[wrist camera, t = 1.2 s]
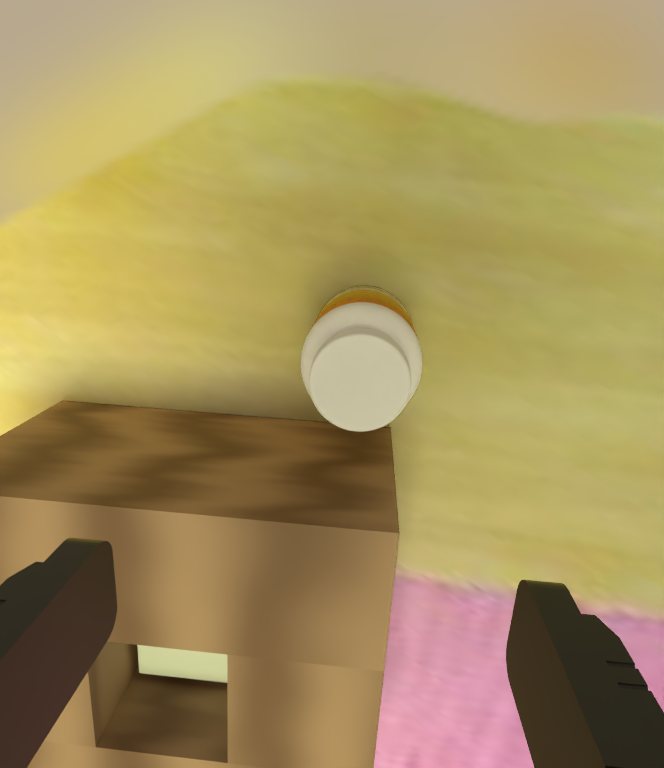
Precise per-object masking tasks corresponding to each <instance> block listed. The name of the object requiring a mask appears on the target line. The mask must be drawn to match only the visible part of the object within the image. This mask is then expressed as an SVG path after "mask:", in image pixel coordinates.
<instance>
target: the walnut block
mask: <svg viewBox="0 0 664 768" xmlns="http://www.w3.org/2000/svg"><path fill="white" fill-rule="evenodd" d="M68 538H80V539H91V540H102V541H108V542H109V543H110V544H111V546H112V550H113V560H114V572H115V583H116V595H117V615H116V620H115V624H114V627H113V630H112V633H111V635H110V637H109V639H108V641H107V642H106V644H105V645H104V647H103V649H102V650H101V652H100V653H99V655H98V656H97V658H96V660H95V661H94V663H93V664H92V666H91V668H90V669H89V671H88V672H87V674H86V675H85V677H84V679H83V680H82V682H81V683H80V685H79V686H78V688H77V690H76V691H75V693H74V694H73V696H72V697H71V699H70V701H69V702H68V704H67V705H66V707H65V709H64V710H63V712H62V713H61V715H60V716H59V718H58V720H57V721H56V723H55V724H54V726H53V727H52V729H51V731H50V732H49V734H48V735H47V737H46V738H45V740H44V742H43V743H42V745H41V746H40V748H39V750H38V751H37V753H36V754H35V756H34V757H33V759H32V761H31V762H30V764H29V765H28V767H27V768H373V767H374V758H375V749H376V740H377V730H378V721H379V712H380V703H381V694H382V685H383V676H384V667H385V658H386V649H387V640H388V631H389V622H390V613H391V604H392V595H393V586H394V577H395V568H396V559H397V549H398V540H399V524H398V512H397V500H396V488H395V475H394V463H393V451H392V439H391V428H388V427H381V428H378V429H375V430H371V431H363V432H358V431H349V430H346V429H342V428H340V427H338V426H336V425H334V424H332V423H327V422H315V421H302V420H290V419H278V418H266V417H254V416H241V415H229V414H217V413H205V412H193V411H180V410H168V409H156V408H144V407H132V406H119V405H107V404H95V403H83V402H71V401H61V402H59V403H57V404H56V405H54V406H52V407H50V408H49V409H47V410H45V411H43V412H42V413H40V414H38V415H36V416H35V417H33V418H31V419H29V420H28V421H26V422H24V423H22V424H21V425H19V426H17V427H15V428H14V429H12V430H10V431H8V432H7V433H5V434H3V435H1V436H0V585H1V584H2V583H3V582H4V581H5V580H6V579H7V578H9V577H10V576H12V575H14V574H15V573H17V572H19V571H21V570H22V569H24V568H26V567H27V566H29V565H31V564H33V563H34V562H44V561H45V560H46V559H47V558H48V557H49V556H50V555H51V554H52V553H53V552H54V551H55V550H56V549H57V548H58V547H59V546H60V545H61V544H62V542H64V541H65V540H66V539H68ZM137 645H143V646H152V647H162V648H171V649H180V650H189V651H199V652H208V653H217V654H227V683H225V682H215V681H206V680H197V679H188V678H179V677H170V676H161V675H152V674H143V673H139V662H138V647H137Z"/></svg>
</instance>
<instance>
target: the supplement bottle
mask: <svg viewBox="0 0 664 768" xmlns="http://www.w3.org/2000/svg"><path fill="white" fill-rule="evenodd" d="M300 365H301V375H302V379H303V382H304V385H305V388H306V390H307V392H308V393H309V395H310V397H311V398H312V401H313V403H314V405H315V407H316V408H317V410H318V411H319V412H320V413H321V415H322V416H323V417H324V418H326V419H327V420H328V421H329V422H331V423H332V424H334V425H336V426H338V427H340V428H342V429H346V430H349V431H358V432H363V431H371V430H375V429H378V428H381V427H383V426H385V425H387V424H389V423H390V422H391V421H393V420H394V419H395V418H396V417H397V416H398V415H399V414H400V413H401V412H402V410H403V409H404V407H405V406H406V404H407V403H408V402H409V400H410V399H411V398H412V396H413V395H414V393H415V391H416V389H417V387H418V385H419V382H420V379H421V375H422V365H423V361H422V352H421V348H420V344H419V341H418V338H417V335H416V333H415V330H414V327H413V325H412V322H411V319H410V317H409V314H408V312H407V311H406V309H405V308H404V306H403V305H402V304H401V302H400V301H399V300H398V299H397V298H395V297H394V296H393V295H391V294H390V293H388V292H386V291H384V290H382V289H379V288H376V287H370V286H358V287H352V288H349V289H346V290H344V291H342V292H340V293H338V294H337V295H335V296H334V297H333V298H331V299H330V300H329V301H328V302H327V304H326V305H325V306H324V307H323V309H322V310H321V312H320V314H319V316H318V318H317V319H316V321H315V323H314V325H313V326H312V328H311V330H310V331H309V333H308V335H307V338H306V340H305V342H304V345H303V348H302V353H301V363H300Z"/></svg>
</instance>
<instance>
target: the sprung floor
mask: <svg viewBox="0 0 664 768" xmlns="http://www.w3.org/2000/svg"><path fill="white" fill-rule="evenodd" d="M137 647H138V662H139V673H143V674H152V675H161V676H170V677H179V678H188V679H197V680H206V681H215V682H225V683H227V654H217V653H208V652H199V651H189V650H180V649H171V648H162V647H152V646H143V645H137Z"/></svg>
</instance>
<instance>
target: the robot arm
mask: <svg viewBox="0 0 664 768" xmlns="http://www.w3.org/2000/svg"><path fill="white" fill-rule="evenodd" d="M116 615H117V595H116V583H115V572H114V560H113V550H112V546H111V544H110V543H109V542H108V541H102V540H91V539H80V538H68V539H66V540H65V541H64V542H62V544H61V545H60V546H59V547H58V548H57V549H56V550H55V551H54V552H53V553H52V554H51V555H50V556H49V557H48V558H47V559H46V560H45V561H44V562H34V563H33V564H31V565H29V566H27V567H26V568H24V569H22V570H21V571H19V572H17V573H15V574H14V575H12V576H10V577H9V578H7V579H6V580H5V581H4V582H3V583H2V584H1V585H0V768H27V767H28V765H29V764H30V762H31V761H32V759H33V757H34V756H35V754H36V753H37V751H38V750H39V748H40V746H41V745H42V743H43V742H44V740H45V738H46V737H47V735H48V734H49V732H50V731H51V729H52V727H53V726H54V724H55V723H56V721H57V720H58V718H59V716H60V715H61V713H62V712H63V710H64V709H65V707H66V705H67V704H68V702H69V701H70V699H71V697H72V696H73V694H74V693H75V691H76V690H77V688H78V686H79V685H80V683H81V682H82V680H83V679H84V677H85V675H86V674H87V672H88V671H89V669H90V668H91V666H92V664H93V663H94V661H95V660H96V658H97V656H98V655H99V653H100V652H101V650H102V649H103V647H104V645H105V644H106V642H107V641H108V639H109V637H110V635H111V633H112V630H113V627H114V624H115V620H116ZM506 663H507V673H508V678H509V682H510V686H511V689H512V693H513V696H514V699H515V703H516V706H517V710H518V713H519V716H520V720H521V723H522V727H523V730H524V733H525V737H526V740H527V744H528V747H529V750H530V754H531V757H532V760H533V764H534V767H535V768H664V712H663V711H662V709H661V707H660V706H659V704H658V702H657V701H656V699H655V697H654V695H653V694H652V692H651V691H648V685H647V684H646V682H645V680H644V679H643V677H642V675H641V673H640V672H639V670H638V669H635V663H634V662H633V660H632V658H631V657H630V655H629V653H628V651H627V650H626V648H625V646H624V645H623V643H622V641H621V640H620V638H619V637H618V636H617V635H616V634H615V633H614V632H613V631H612V630H610V629H609V628H608V627H607V626H606V625H605V624H604V623H603V622H602V621H601V620H600V619H599V618H597V617H596V616H595V615H587V614H581V613H580V611H579V609H578V607H577V605H576V604H575V602H574V600H573V598H572V596H571V594H570V592H569V590H568V589H567V587H566V586H565V585H564V584H562V583H552V582H541V581H530V580H521V581H520V583H519V585H518V589H517V594H516V599H515V604H514V609H513V615H512V620H511V625H510V631H509V636H508V641H507V649H506Z"/></svg>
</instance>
